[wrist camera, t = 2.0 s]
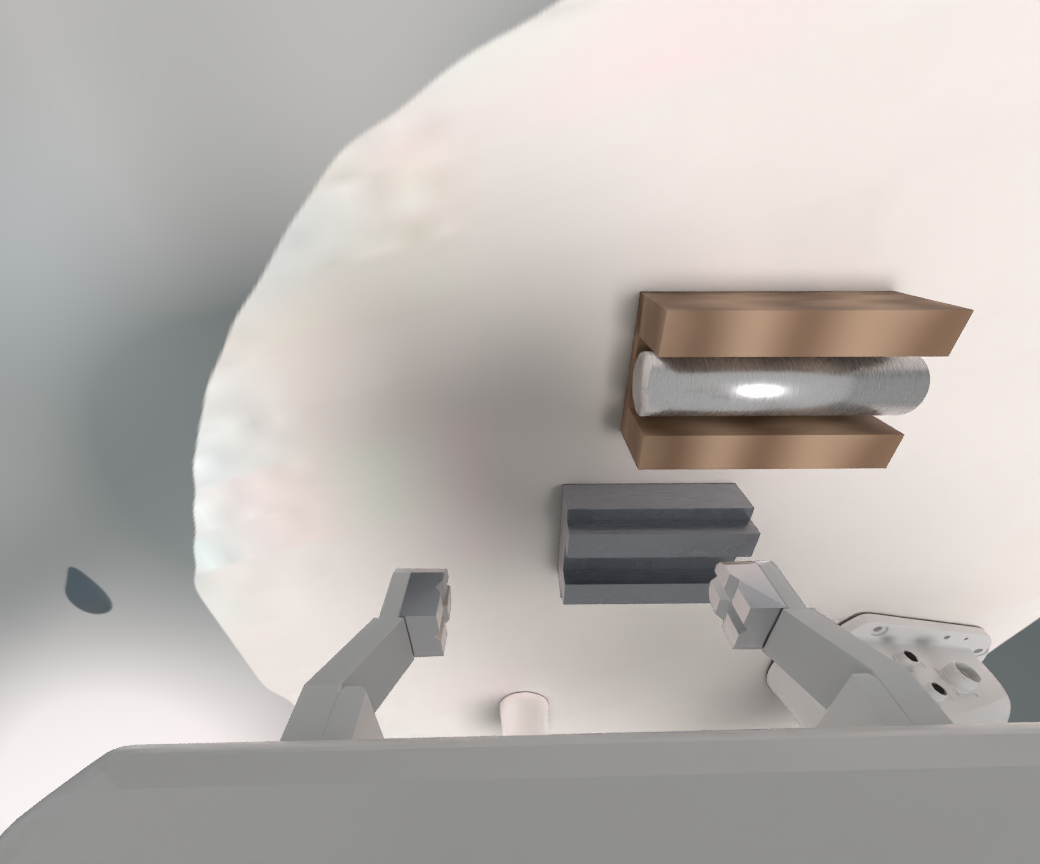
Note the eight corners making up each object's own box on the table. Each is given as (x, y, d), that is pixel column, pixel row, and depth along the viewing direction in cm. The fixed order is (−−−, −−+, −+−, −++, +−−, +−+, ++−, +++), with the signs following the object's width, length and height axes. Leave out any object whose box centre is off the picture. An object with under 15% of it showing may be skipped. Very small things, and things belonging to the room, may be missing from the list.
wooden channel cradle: (894, 291, 25) (974, 310, 21) (832, 429, 30) (885, 468, 26) (640, 291, 25) (667, 310, 21) (620, 430, 30) (638, 469, 26)
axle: (885, 342, 26) (943, 363, 22) (859, 399, 28) (909, 426, 24) (637, 343, 26) (657, 364, 22) (629, 400, 28) (645, 427, 24)
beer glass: (485, 709, 50) (474, 888, 37) (515, 683, 47) (516, 867, 34) (531, 724, 52) (537, 899, 39) (563, 699, 49) (580, 880, 36)
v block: (735, 483, 33) (765, 521, 29) (706, 568, 38) (728, 611, 34) (563, 484, 32) (570, 523, 28) (557, 569, 37) (562, 612, 34)
